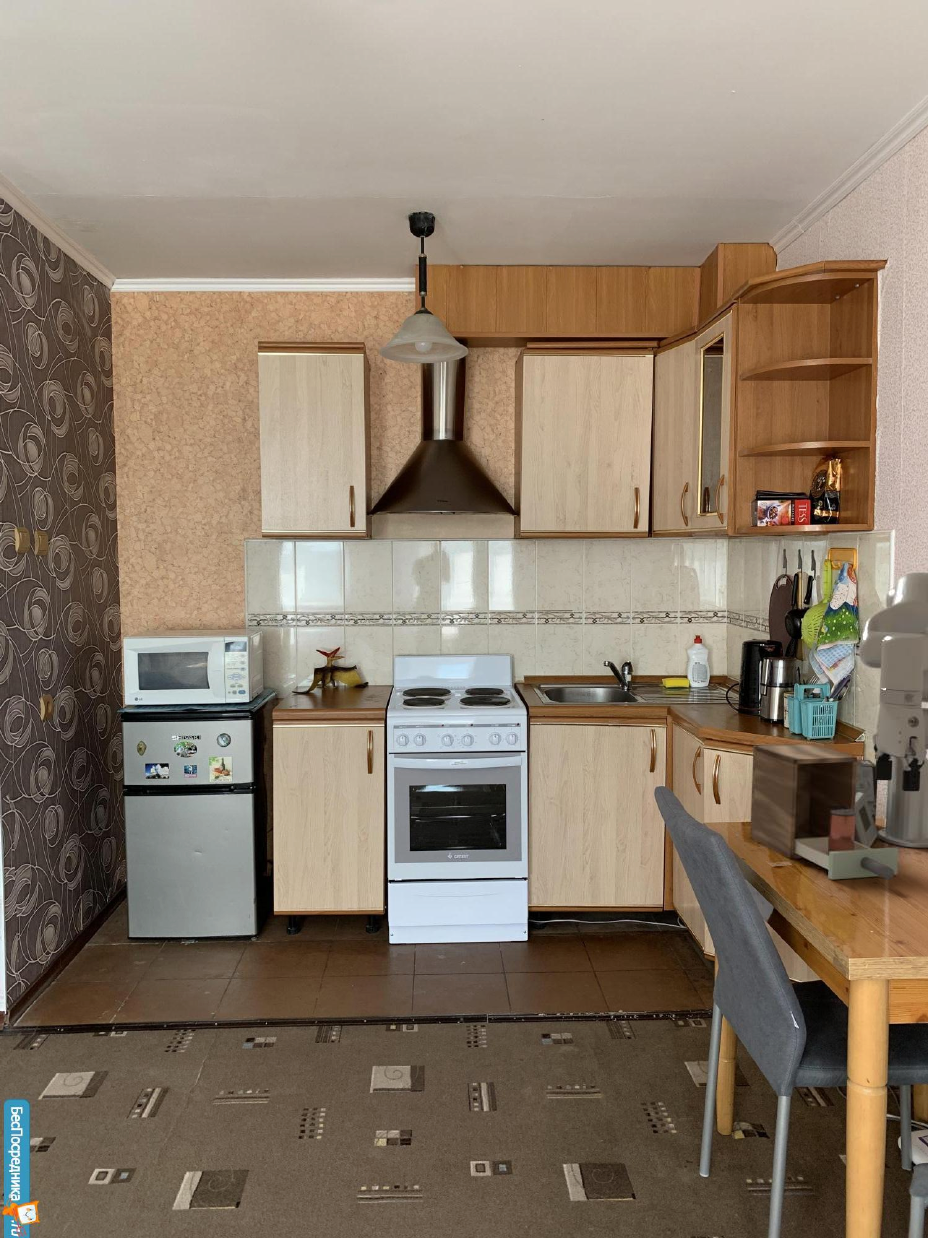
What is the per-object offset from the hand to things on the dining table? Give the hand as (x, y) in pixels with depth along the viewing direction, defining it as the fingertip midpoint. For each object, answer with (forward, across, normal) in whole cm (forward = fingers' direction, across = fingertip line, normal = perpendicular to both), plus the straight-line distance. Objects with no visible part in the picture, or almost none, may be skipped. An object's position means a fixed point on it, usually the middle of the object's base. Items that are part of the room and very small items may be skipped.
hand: (896, 785), depth 181 cm
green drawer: (+21, +13, +2) cm, 25 cm away
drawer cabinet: (+21, +31, +5) cm, 38 cm away
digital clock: (+21, +32, -10) cm, 40 cm away
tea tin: (+19, +17, +2) cm, 25 cm away
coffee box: (+21, +47, -18) cm, 54 cm away
